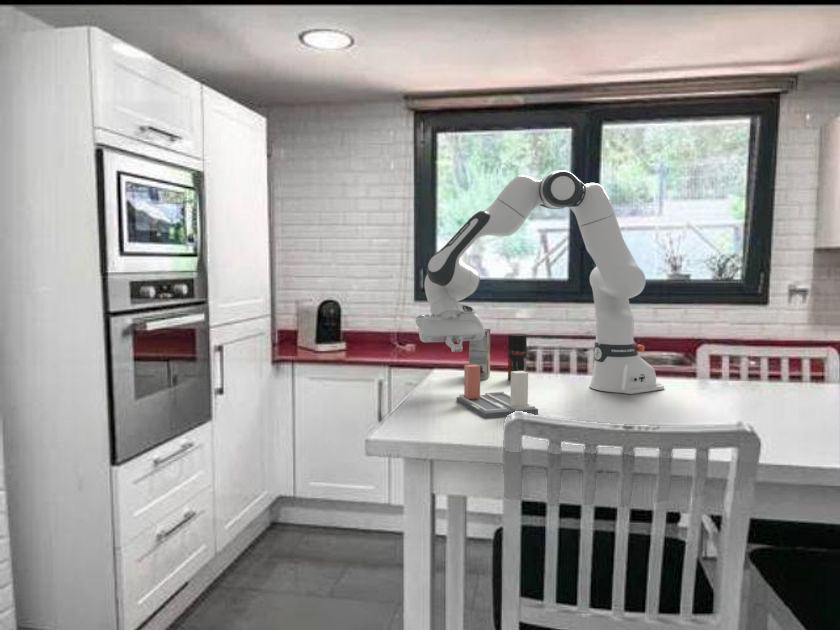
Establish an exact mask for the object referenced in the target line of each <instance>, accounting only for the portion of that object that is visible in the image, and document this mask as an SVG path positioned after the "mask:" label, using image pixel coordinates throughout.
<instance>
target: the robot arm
mask: <svg viewBox="0 0 840 630" xmlns="http://www.w3.org/2000/svg"><path fill="white" fill-rule="evenodd" d="M538 206H540V207H544V208H546V209H550V210H562V209H564V208H569V209H570V210H571V211H572V212H573V214H574V216H575V218H576V221H577V224H578V225H577V226H578V228H579V231H580V234H581V237H582V239H583V243H584V245H585V249H586V252H587V253H588V254H589V256H590V257H591V258H592V260H593V262H594V264H595V266H596V267H594V268H593V269H592V270H591V272H590V275H589V284H590V286H591V289H592V297H593V303H594V308H595V318H596V322H595V323H596V324H595V325H596V326H595V327H596V328H595V341H594V349H593V355H594V363H593V364H594V365H593V371H592V377H591V380H590V383H589V388H591V389H592V390H593V389H594V390H596V391H602V392H607V393H608V392H609V393H621V394H629V395H634V394H641V393H646V392H652V391H653V392H655V391H660V390H664V389H665V386H664V385H663V383H660V382H657V377H656V376H657V374H656V370H655V368H654V367H653V366H652V365H651V364H650V363H648V361H646V360H644V359H643V358H642V357H641V356H639V353H638V352H642V353H643V352H644V351H645V349H646V348H645V345H643V344H636V343H635V342H634V333H635V331H634V329H635V328H634V327H635V319H634V314H633V313H632V309H631V305H630V300H629V299H632V298H635V297H636V296H639V295H640V294H641V293H642V292H643V290H644V289H645V287H646V279H647V278H646V275H645V273H644V271H643V269H641V268H640V267H639V265H638V264H637V261H635V258H634V256H633V255H632V252H631V251H630V249H629V247H628V245H627V244H626V242H625V239H624V238H623V235H622V231H621V228H620V226H619V225H620V224H619V222H618V220H617V219H618V218H617V216H616V213H615V210H614V207H613V205H612V203H611V199H610V198H609V196H608V194H607V192H606V190H605V189H604V187H603V186H602V185H601V184H599V183H595V182H590V183H583V181H581V180H580V179H579V178H578V177H577V176H576V175H575V174H574V173H572V172H570V171H568V170H563V169H561V170H555V171H552V172H550V173H547V174H546V175H544V176H543V177H542V178H540V179H538V180H537V179H534V178H533V177H531V176H529V175H526V174H518V175H516V176H515V177H514V178H513V179H511V180H510V181H509V183H508V184H506V186H505V187H504V188H503V189H502V190H501V192H500V193H499V194H498V195H497V197H496V198H495V200H494V201H493V202H492V204H490V205H489V206H488V207H487V208H485V209H484V210H480V211H478V212H476V213H475V214H473V215H472V216H471V217H470V218H469V219H468V220H467V221H466V222H465V223H464V224H463V225H462V227H461V228H460V229H459V230H458V231H457V232H456V233H455V234H454V235H453V236H452V237H451V239H449V241H448V242H447V243H446V244H445V245H444V246H443V247H441V249H439V250H438V251H437V252H436V253H434V255H432V256H431V257H430V258H429V261H428V262H427V266H426V273H427V274H426V276H425V279H424V292H425V296H426V299H427V303H428V305H429V306H430V307H429V308H430V309H429V310H430V313H431V314H419V315H417V317H415V324H416V327H418V335H419V340H420V341H421V342H422V343H444V342H445V345H446V346H448V347H449V348H450V349H451V352H452V353H462V352H463V349H464V348H463V342H466V341H467V342H469V341H475V340H481V339H482V338H483V336H484V334H485V329H486V328H485V327H484V324H483V322H482V319H481V318H480V316H479V315H477V314H476V313H477V310H476V308H475V307H474V306H470V305H467V304H466V305H465V304H462V303H460V302H461V301H463V300H465V299H467V298H469V297H470V296H472V295H473V294H475V293H476V291H477V289H478V288H479V286H480V281H481V280H480V274H479V272H478V270H477V269H475V268H473V267H472V266H471V265H469V264H467V263H465V262H464V261H462V260H460V259H461V257H462V256H463V255H464V254H465V253H466V251H467V250H469V248H470V247H471V246H472V245H473V244H474V243H475V242H476V241H477V240H478V239H480V238H482V237H485V236H493V237H502V238H503V237H508V236H511V235H514V234H516V232H517V231H518V230H520V228H521V227H522V226H523V224H524V223H525V222H526V220H527V219H528V218H529V216H530V214H531V213H532V211H533V210H534V209H535V208H536V207H538ZM455 342H456V343H457V344H455Z"/></svg>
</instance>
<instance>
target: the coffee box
mask: <svg viewBox="0 0 840 630" xmlns="http://www.w3.org/2000/svg"><path fill="white" fill-rule="evenodd" d="M484 329H485V334H484V336H483V338H482V339H481V340H475V341H468V359H469V360H468V365H475V364H476V365H478V366H480V380H484V381H485V380H486V381H487V380H488V379H489V377H490V376H491V328H484Z"/></svg>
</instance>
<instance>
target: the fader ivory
mask: <svg viewBox="0 0 840 630" xmlns="http://www.w3.org/2000/svg"><path fill="white" fill-rule="evenodd" d="M510 396H511V405H512V406H514V407H526V406H528V404H529V403H528V401H529V400H528V398H529V397H528V396H529V372H528V371H526V372H525V371H511V381H510Z"/></svg>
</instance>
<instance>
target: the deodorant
mask: <svg viewBox="0 0 840 630" xmlns="http://www.w3.org/2000/svg"><path fill="white" fill-rule="evenodd" d="M527 335H528V334H526V333H508V337H507V338H508V345H507V346H508V347H507V350H508V351H507V357H508V359H507V361H508V362H507V368H508V369H507V380H508V381H510V380H511V371H525V372H527V344H528V343H527Z"/></svg>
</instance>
